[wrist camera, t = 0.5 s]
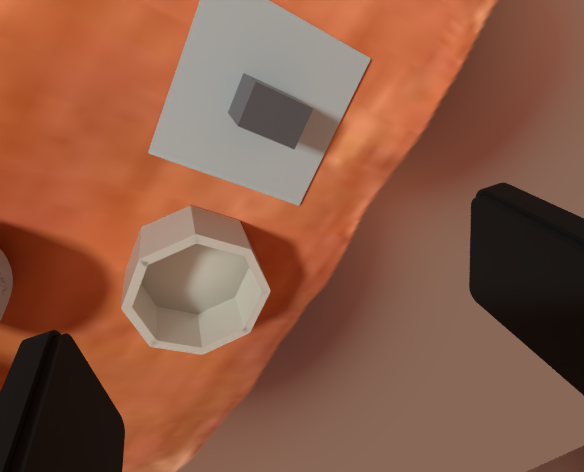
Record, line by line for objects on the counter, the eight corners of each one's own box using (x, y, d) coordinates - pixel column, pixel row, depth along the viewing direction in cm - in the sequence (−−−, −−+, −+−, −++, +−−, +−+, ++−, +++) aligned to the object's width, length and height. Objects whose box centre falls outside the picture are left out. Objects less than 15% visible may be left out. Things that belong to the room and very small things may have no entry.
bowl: (152, 193, 38) (152, 222, 33) (271, 229, 43) (286, 259, 38) (115, 300, 42) (109, 340, 36) (227, 321, 47) (236, 360, 42)
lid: (209, -32, 32) (220, -40, 27) (366, 57, 38) (398, 64, 33) (148, 149, 36) (147, 172, 31) (296, 202, 43) (315, 227, 38)
